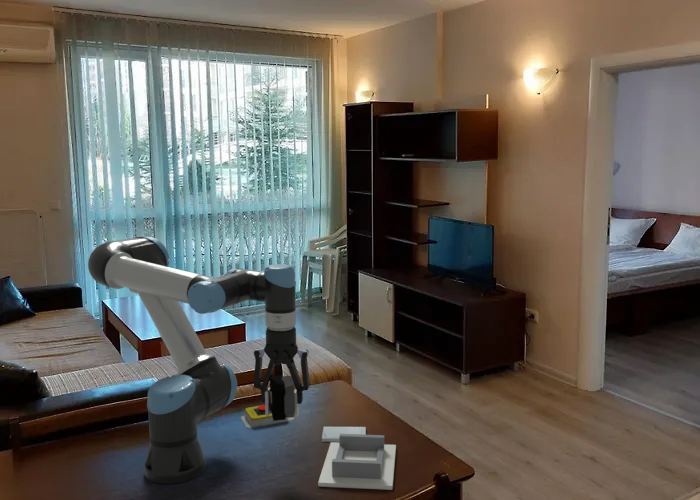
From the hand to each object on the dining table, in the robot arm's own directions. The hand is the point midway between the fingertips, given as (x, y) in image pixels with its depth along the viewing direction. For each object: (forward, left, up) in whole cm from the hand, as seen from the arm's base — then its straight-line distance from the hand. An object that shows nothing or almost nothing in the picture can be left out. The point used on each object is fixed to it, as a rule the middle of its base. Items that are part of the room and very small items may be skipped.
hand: (282, 414), depth 161 cm
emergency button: (-12, +31, -15) cm, 36 cm away
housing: (+19, +3, -14) cm, 24 cm away
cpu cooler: (0, 0, -1) cm, 1 cm away
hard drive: (+13, +21, -15) cm, 29 cm away
